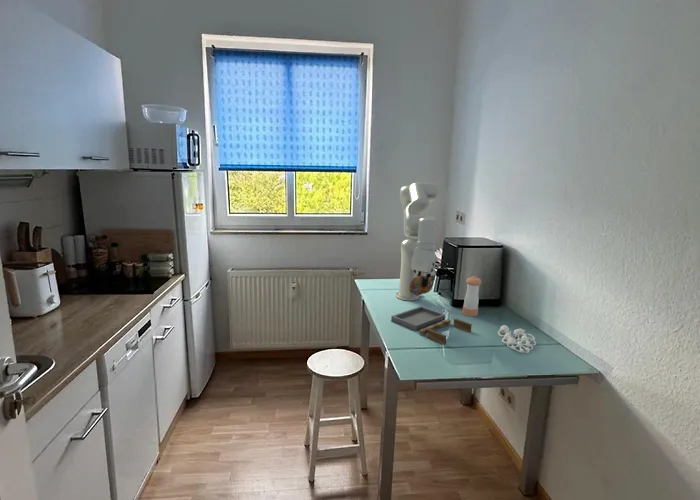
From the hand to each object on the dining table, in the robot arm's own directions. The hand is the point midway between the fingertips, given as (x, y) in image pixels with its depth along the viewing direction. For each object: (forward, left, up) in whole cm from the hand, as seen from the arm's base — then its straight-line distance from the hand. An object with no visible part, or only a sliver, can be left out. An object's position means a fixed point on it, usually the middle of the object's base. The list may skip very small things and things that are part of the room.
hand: (421, 285), depth 184 cm
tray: (0, 0, -17) cm, 17 cm away
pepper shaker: (-28, +10, -17) cm, 34 cm away
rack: (+2, +16, -17) cm, 23 cm away
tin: (0, -1, -4) cm, 4 cm away
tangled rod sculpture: (-15, +40, -17) cm, 46 cm away
